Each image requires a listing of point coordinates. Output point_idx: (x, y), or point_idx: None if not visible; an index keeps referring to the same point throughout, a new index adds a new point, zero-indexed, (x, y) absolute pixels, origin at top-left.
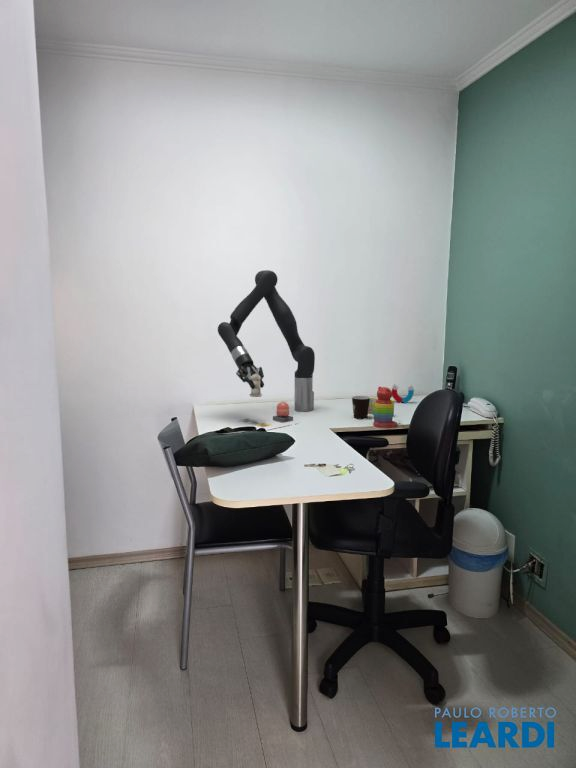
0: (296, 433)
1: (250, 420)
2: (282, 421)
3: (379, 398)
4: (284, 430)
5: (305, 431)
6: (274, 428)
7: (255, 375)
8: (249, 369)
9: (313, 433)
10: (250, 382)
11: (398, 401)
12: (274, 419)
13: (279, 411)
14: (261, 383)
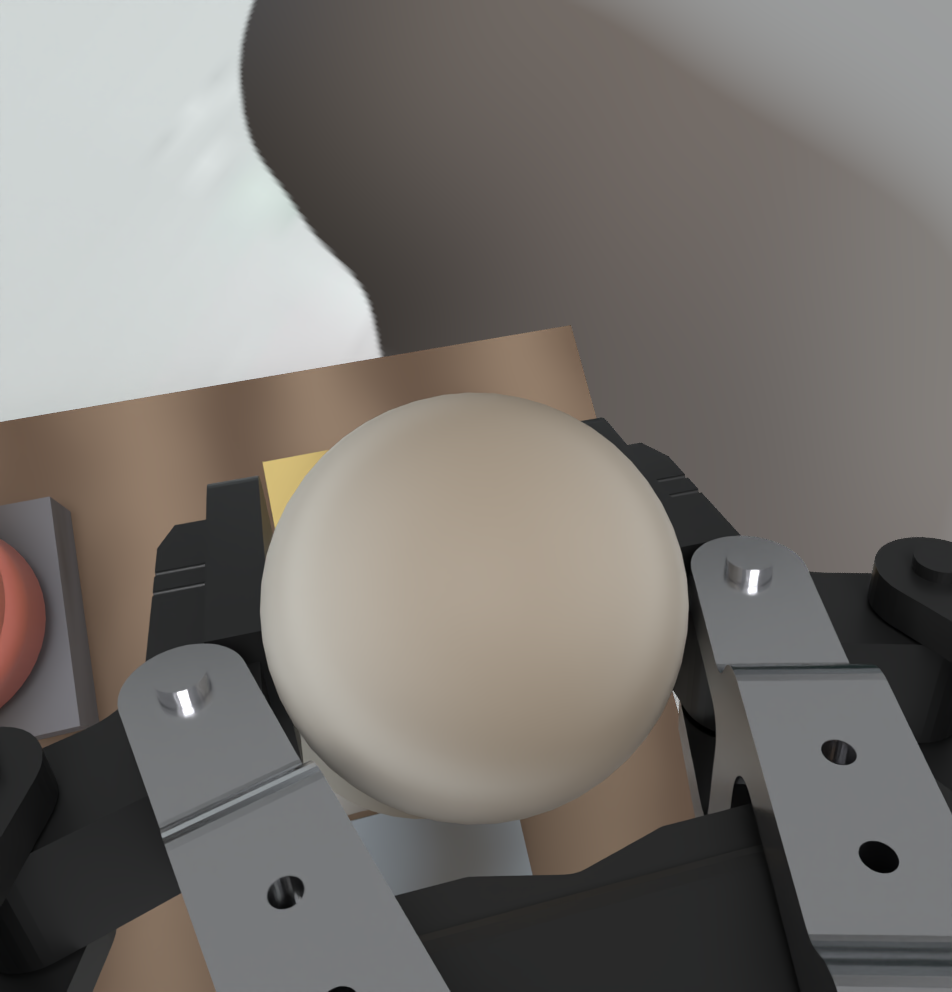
0: (183, 100)
1: (405, 863)
2: (64, 509)
3: None
4: (225, 269)
5: (39, 114)
6: (295, 377)
7: (562, 447)
8: (870, 987)
9: (19, 9)
10: (710, 518)
11: None
12: (87, 686)
13: (10, 565)
14: (265, 540)
